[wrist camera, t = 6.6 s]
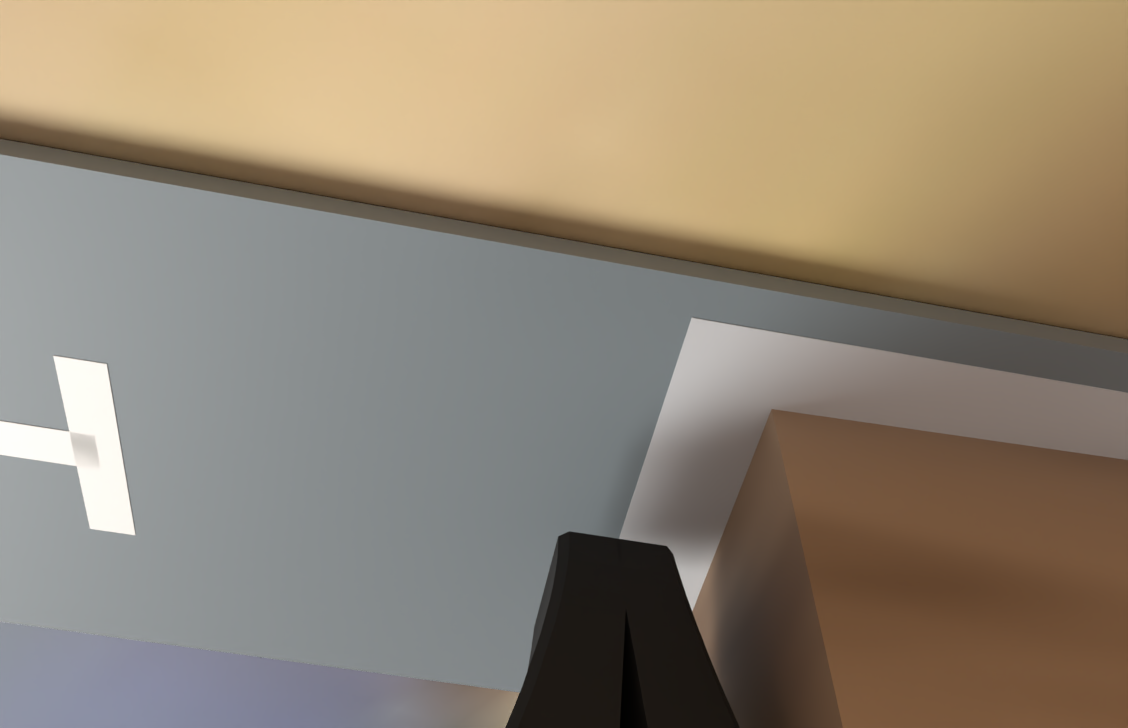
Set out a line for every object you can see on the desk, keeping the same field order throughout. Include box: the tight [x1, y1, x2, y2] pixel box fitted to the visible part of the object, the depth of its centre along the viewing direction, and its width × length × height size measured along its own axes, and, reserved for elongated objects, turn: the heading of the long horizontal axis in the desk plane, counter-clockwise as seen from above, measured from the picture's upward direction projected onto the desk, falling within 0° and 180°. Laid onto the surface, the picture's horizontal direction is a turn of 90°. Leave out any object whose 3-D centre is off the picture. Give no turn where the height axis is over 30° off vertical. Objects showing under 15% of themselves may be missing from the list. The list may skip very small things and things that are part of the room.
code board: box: [0, 139, 1128, 692], centre depth 12 cm, size 8×21×1 cm, turn 80°
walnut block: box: [692, 409, 1128, 728], centre depth 11 cm, size 5×5×4 cm
